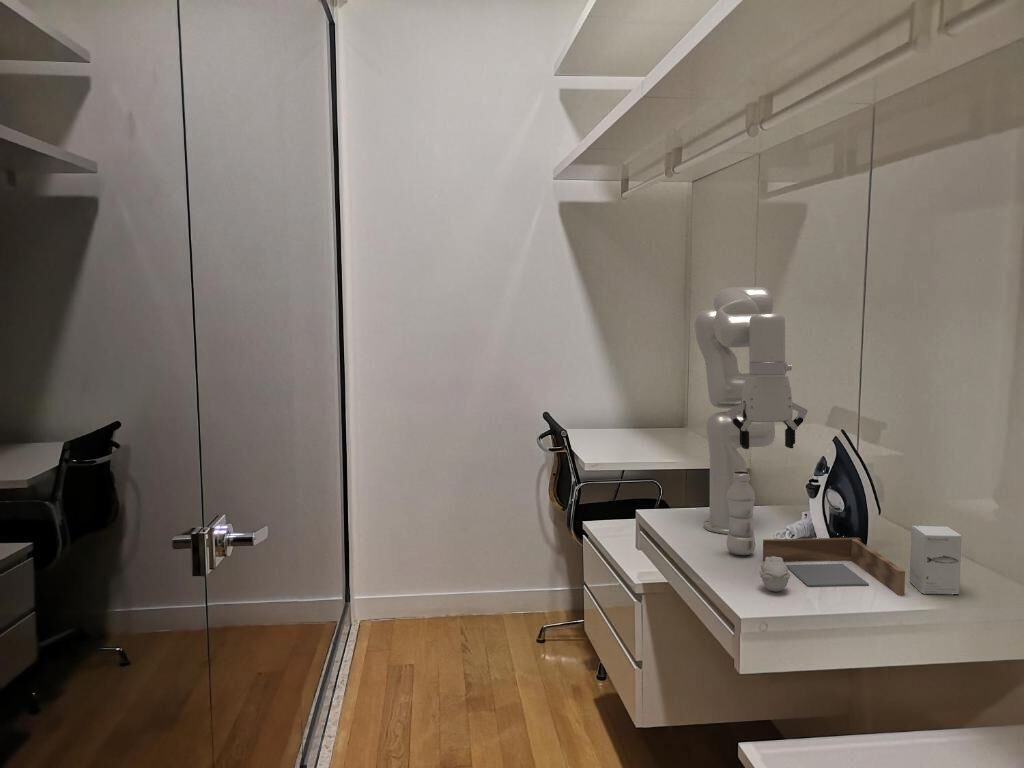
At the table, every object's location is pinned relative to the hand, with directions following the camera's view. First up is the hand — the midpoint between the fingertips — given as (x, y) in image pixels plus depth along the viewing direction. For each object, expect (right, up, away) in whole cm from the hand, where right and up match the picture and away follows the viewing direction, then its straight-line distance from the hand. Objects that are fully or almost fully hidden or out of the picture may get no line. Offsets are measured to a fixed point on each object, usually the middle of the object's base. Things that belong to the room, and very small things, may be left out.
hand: (767, 448), depth 170 cm
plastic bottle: (-1, -27, +17) cm, 32 cm away
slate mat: (+13, -28, +1) cm, 31 cm away
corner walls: (+14, -28, 0) cm, 32 cm away
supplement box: (+32, -29, -8) cm, 44 cm away
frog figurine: (-1, -30, -7) cm, 30 cm away
